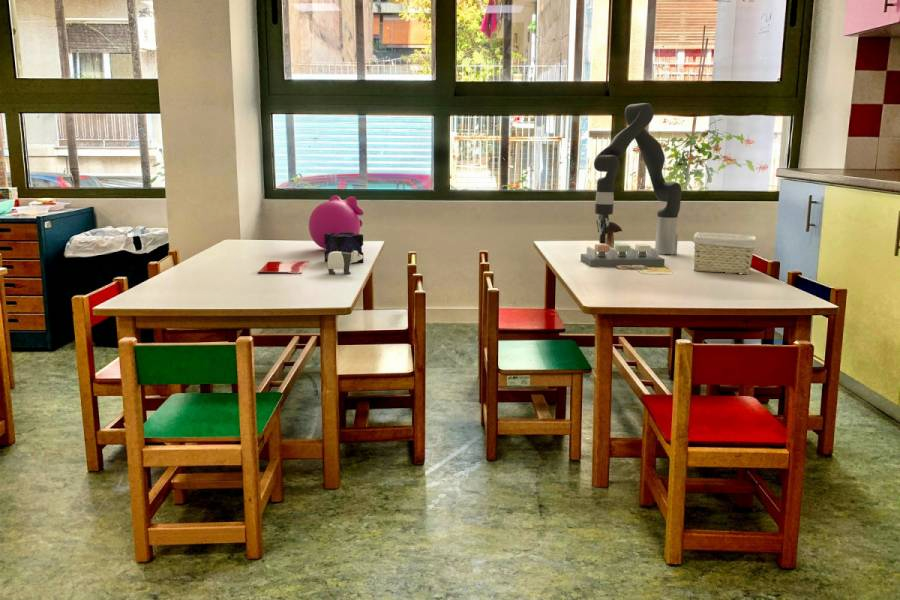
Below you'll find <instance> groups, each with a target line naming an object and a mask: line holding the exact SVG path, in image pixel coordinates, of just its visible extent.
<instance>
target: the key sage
mask: <svg viewBox="0 0 900 600" xmlns="http://www.w3.org/2000/svg"><path fill="white" fill-rule="evenodd" d="M630 247H631V245H629V244H626V243H616V244H615V243H614V249H616V250H618V254H619V256H626V254H627V252H630Z"/></svg>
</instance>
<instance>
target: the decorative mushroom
mask: <svg viewBox="0 0 900 600" xmlns="http://www.w3.org/2000/svg"><path fill="white" fill-rule="evenodd" d="M609 223H610V224H611V225H610V228H609V231H608V234H606V239H605V244H607V245H609V246H610V247H611V248H614V249H615V238H614V236H615V235H614V234H615V233H619V232H623V229H622V227H621V226H619V224H617V223H616V222H613V221H609ZM605 254H607V252H605Z"/></svg>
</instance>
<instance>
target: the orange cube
mask: <svg viewBox="0 0 900 600" xmlns="http://www.w3.org/2000/svg"><path fill="white" fill-rule="evenodd" d="M594 249H595V250H597V254H598V256H605V254H606V252H609V250H610V246H609V245H607V244H601V243H596V244H594Z"/></svg>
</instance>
